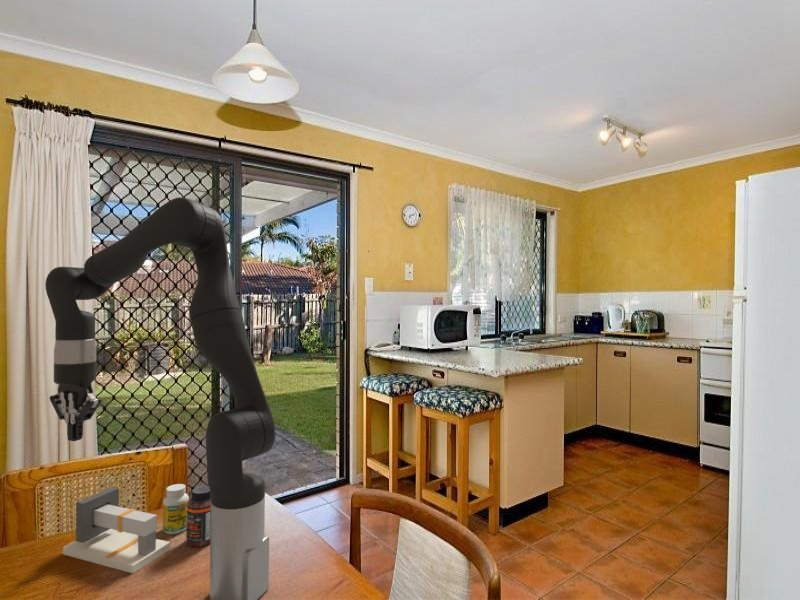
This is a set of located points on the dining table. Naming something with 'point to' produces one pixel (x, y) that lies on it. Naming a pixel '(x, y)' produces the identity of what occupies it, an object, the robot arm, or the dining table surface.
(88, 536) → the collar
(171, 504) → the supplement bottle
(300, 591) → the dining table surface
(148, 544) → the white bar stand
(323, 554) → the dining table surface
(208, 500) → the supplement bottle
